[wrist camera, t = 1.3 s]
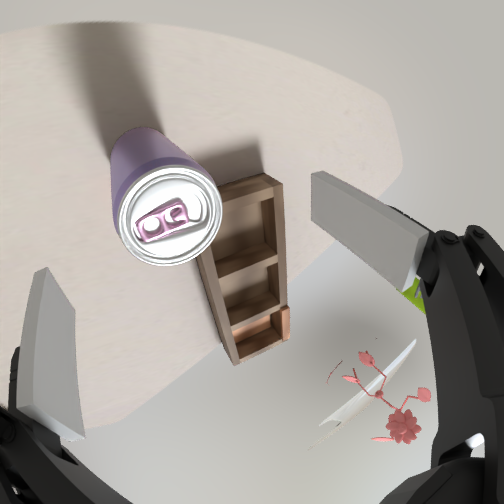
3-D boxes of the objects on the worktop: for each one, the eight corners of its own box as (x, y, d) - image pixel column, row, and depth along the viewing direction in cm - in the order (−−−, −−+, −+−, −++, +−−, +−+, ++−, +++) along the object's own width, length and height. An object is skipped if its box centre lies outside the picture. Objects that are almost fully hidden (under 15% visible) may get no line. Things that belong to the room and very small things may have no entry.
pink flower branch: (380, 331, 81) (451, 406, 55) (343, 381, 92) (399, 449, 66) (351, 341, 73) (429, 430, 47) (313, 394, 84) (372, 472, 58)
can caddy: (224, 348, 46) (235, 368, 43) (180, 198, 29) (191, 216, 26) (276, 324, 50) (289, 341, 46) (264, 172, 32) (285, 185, 29)
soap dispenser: (413, 265, 67) (466, 309, 53) (405, 285, 71) (455, 327, 57) (400, 273, 65) (457, 320, 51) (393, 292, 69) (445, 338, 55)
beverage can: (102, 140, 22) (94, 192, 11) (160, 117, 24) (213, 145, 13) (122, 193, 26) (140, 285, 15) (176, 171, 27) (236, 243, 16)
